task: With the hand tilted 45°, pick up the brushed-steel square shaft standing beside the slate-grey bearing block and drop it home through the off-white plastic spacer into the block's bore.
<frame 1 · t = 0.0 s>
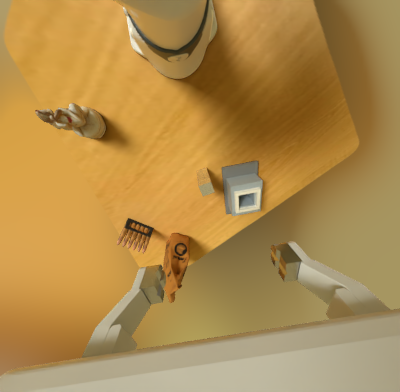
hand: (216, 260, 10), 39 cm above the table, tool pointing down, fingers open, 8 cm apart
shaft: (203, 173, 49), on the table
bearing block: (239, 189, 53), on the table
coffee package: (177, 241, 66), on the table
spacer: (246, 199, 47), point 7 cm above the table, touching bearing block
ammunition clip: (140, 224, 59), on the table
figurine: (92, 121, 38), on the table
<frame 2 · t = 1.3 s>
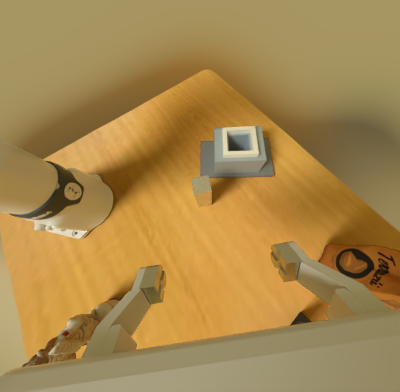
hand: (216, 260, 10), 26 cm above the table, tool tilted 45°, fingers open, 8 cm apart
shaft: (204, 200, 39), on the table
bearing block: (234, 159, 42), on the table
coffee package: (344, 272, 31), on the table
spacer: (238, 143, 35), point 7 cm above the table, touching bearing block
figurine: (111, 315, 32), on the table
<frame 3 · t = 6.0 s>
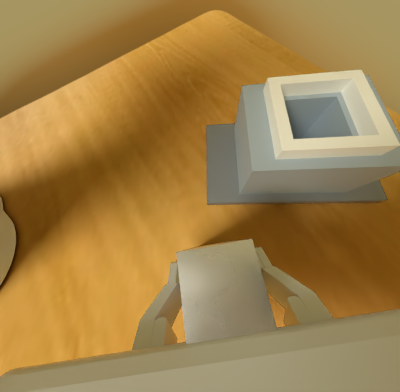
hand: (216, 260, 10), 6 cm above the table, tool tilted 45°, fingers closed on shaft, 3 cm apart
shaft: (216, 259, 16), on the table, touching gripper
bearing block: (280, 161, 19), on the table
spacer: (314, 119, 13), point 7 cm above the table, touching bearing block
when the fingers open (10 cm above the table, at t = 13.0 s): shaft drops 2 cm, resting on bearing block.
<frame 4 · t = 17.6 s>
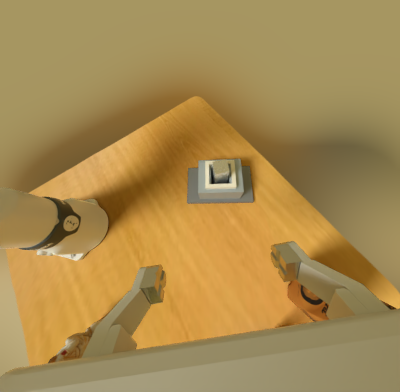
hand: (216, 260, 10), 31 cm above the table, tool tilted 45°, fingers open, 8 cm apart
shaft: (219, 184, 45), point 1 cm above the table, touching bearing block
bearing block: (218, 185, 46), on the table
coffee package: (312, 293, 35), on the table
spacer: (220, 175, 39), point 7 cm above the table, touching bearing block
figurine: (105, 331, 36), on the table
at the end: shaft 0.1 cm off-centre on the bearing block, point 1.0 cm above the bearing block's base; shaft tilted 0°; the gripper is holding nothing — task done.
